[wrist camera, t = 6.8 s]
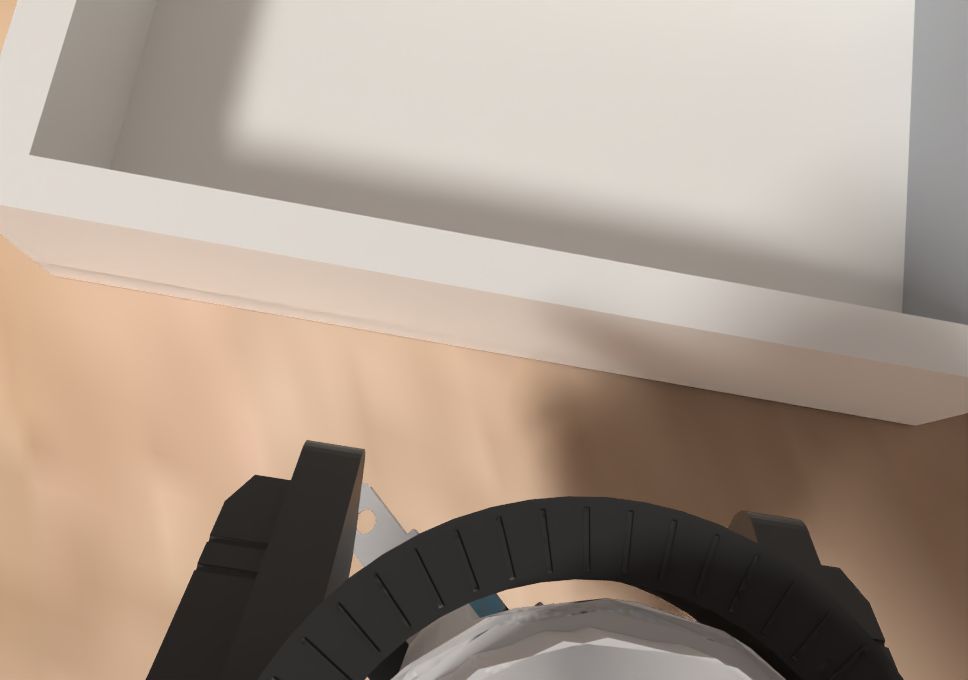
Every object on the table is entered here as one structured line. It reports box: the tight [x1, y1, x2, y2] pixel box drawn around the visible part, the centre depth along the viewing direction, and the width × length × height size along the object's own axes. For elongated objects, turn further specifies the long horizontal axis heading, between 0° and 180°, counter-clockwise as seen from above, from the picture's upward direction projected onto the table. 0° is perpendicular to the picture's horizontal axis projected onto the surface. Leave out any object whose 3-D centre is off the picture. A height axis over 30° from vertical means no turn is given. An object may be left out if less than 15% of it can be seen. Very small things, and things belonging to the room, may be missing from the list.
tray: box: [0, 0, 968, 426], centre depth 20 cm, size 20×12×4 cm, turn 81°
